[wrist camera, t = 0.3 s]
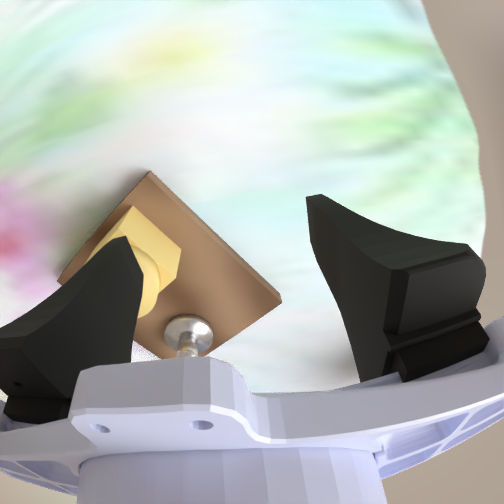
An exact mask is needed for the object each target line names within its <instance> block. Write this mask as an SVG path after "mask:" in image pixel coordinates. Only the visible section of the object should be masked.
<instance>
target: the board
mask: <svg viewBox="0 0 504 504" xmlns="http://www.w3.org/2000/svg"><path fill="white" fill-rule="evenodd" d="M132 206H134V207H135V208H136V209H137V210H139V211H140V212H141V213H142V214H143V215H144V216H145V217H146V218H147V219H148V220H149V221H151V222H152V223H153V224H154V225H155V226H156V227H157V228H158V229H159V230H160V231H162V232H163V233H164V234H165V235H166V236H167V237H168V238H169V239H170V240H172V241H173V242H174V243H175V244H176V245H177V246H178V247H179V248H180V249H181V254H180V259H179V265H178V270H177V275H176V279H174V280H173V281H172V282H171V283H170V284H169V285H167V286H166V287H165V288H164V289H163V290H162V291H161V292H159V293H158V296H157V300H156V303H155V306H154V307H153V309H152V310H151V311H150V312H149V313H148V314H146V315H145V316H143V317H140V318H137V323H136V327H135V332H134V337H133V340H134V341H135V342H137V343H138V344H140V345H141V346H143V347H144V348H146V349H147V350H149V351H150V352H152V353H153V354H155V355H156V356H158V357H159V358H161V359H169V358H177V351H175V350H173V349H172V348H170V347H169V346H168V344H167V343H166V341H165V338H164V334H165V328H166V324H167V322H168V321H169V320H170V319H171V318H172V317H174V316H176V315H179V314H184V313H190V314H196V315H199V316H201V317H203V318H205V319H206V320H207V321H208V322H209V323H210V324H211V326H212V329H213V342H212V345H211V346H210V347H209V348H208V349H207V350H206V351H204V352H202V353H199V354H198V357H204V356H205V355H207V354H208V353H210V352H211V351H213V350H214V349H216V348H217V347H219V346H220V345H222V344H223V343H225V342H226V341H228V340H229V339H231V338H232V337H234V336H235V335H237V334H238V333H240V332H241V331H242V330H244V329H245V328H247V327H248V326H250V325H251V324H253V323H254V322H256V321H257V320H258V319H260V318H261V317H263V316H264V315H266V314H267V313H268V312H270V311H271V310H273V309H274V308H275V307H277V306H278V305H280V304H281V303H282V300H281V296H280V293H279V292H278V291H276V290H275V289H274V288H273V287H272V286H271V285H270V284H269V283H268V282H267V281H266V280H265V279H264V278H263V277H262V276H261V275H259V274H258V273H257V272H256V271H255V270H254V269H253V268H252V267H251V266H250V265H249V264H248V263H247V262H246V261H245V260H244V259H243V258H241V257H240V256H239V255H238V254H237V253H236V252H235V251H234V250H233V249H232V248H231V247H230V246H229V245H228V244H227V243H226V242H225V241H223V240H222V239H221V238H220V237H219V236H218V235H217V234H216V233H215V232H214V231H213V230H212V229H211V228H210V227H209V226H208V225H207V224H206V223H205V222H204V221H202V220H201V219H200V218H199V217H198V216H197V215H196V214H195V213H194V212H193V211H192V210H191V209H190V208H189V207H188V206H187V205H186V204H185V203H184V202H183V201H182V200H181V199H179V198H178V197H177V196H176V195H175V194H174V193H173V192H172V191H171V190H170V189H169V188H168V187H167V186H166V185H165V184H164V183H163V182H162V181H161V180H160V179H159V178H158V177H157V176H156V175H154V174H153V173H152V172H151V171H150V172H149V173H148V174H147V175H146V176H145V177H144V178H143V179H142V180H141V181H140V182H139V183H138V184H137V186H136V187H135V188H134V189H133V190H132V191H131V192H130V193H129V194H128V195H127V196H126V197H125V198H124V200H123V201H122V202H121V203H120V204H119V205H118V206H117V207H116V208H115V210H114V211H113V212H112V213H111V214H110V215H109V216H108V218H107V219H106V220H105V221H104V222H103V223H102V224H101V226H100V227H99V228H98V229H97V230H96V232H95V233H94V234H93V235H92V236H91V238H90V239H89V240H88V241H87V242H86V244H85V245H84V246H83V247H82V249H81V250H80V251H79V252H78V254H77V255H76V256H75V257H74V259H73V260H72V261H71V262H70V264H69V265H68V266H67V268H66V269H65V270H64V271H63V273H62V274H61V276H60V277H59V279H58V280H57V282H58V283H60V284H61V285H64V284H65V283H66V282H67V281H68V280H69V279H70V278H71V277H72V276H73V275H74V274H75V273H76V272H77V271H78V270H79V269H81V268H82V267H83V266H84V264H85V263H86V261H87V260H88V258H89V256H90V255H91V253H92V252H93V250H94V249H95V247H96V246H97V245H98V244H99V242H100V241H101V240H102V239H103V238H104V237H105V236H106V234H107V233H108V232H109V231H110V230H111V229H112V228H113V227H114V225H115V224H116V223H117V222H118V221H119V220H120V219H121V218H122V217H123V216H124V214H125V213H126V212H127V211H128V210H129V209H130V208H131V207H132Z"/></svg>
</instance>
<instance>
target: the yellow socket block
mask: <svg viewBox="0 0 504 504" xmlns="http://www.w3.org/2000/svg"><path fill="white" fill-rule="evenodd" d="M122 236H126V237H127V239H128V241H129V243H130V246H131V248H132V250H133V252H134V255H135V257H136V259H137V261H138V263H139V265H140V268H141V270H142V272H143V274H144V280H143V293H142V299H141V304H140V309H139V314H138V318H140V317H143V316H145V315H146V314H148V313H149V312H150V311H151V310H152V309H153V307H154V306H155V303H156V300H157V296H158V293H159V292H161V291H162V290H163V289H164V288H165V287H166V286H167V285H169V284H170V283H171V282H172V281H173V280H174V279H176V275H177V270H178V265H179V259H180V254H181V249H180V248H179V247H178V246H177V245H176V244H175V243H174V242H173V241H172V240H170V239H169V238H168V237H167V236H166V235H165V234H164V233H163V232H162V231H160V230H159V229H158V228H157V227H156V226H155V225H154V224H153V223H152V222H151V221H149V220H148V219H147V218H146V217H145V216H144V215H143V214H142V213H141V212H140V211H139V210H137V209H136V208H135V207H134V206H132V207H131V208H130V209H129V210H128V211H127V212H126V213H125V214H124V216H123V217H122V218H121V219H120V220H119V221H118V222H117V223H116V224H115V225H114V227H113V228H112V229H111V230H110V231H109V232H108V233H107V234H106V236H105V237H104V238H103V239H102V240H101V241H100V242H99V244H98V245H97V246H96V247H95V249H94V250H93V252H92V253H91V255H90V256H89V258H88V260H87V261H86V263H87V262H88V261H89V260H90V259H91V258H92V257H93V256H94V255H95V254H96V253H97V252H98V251H99V250H100V249H101V248H102V247H103V246H104V245H105V244H107V243H108V242H109V241H110V240H112V239H114V238H118V237H122ZM86 263H85V264H86ZM85 264H84V265H85Z"/></svg>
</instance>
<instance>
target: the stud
mask: <svg viewBox="0 0 504 504" xmlns="http://www.w3.org/2000/svg"><path fill="white" fill-rule="evenodd" d="M164 338H165V341H166V343H167V344H168V346H169V347H170V348H172V349H173V350H175V351H177V357H185V356H198V354H199V353H202V352H204V351H206V350H207V349H208V348H209V347H210V346H211V345H212V342H213V329H212V326H211V324H210V323H209V322H208V321H207V320H206V319H205V318H203V317H201V316H199V315H196V314H190V313H184V314H179V315H176V316H174V317H172V318H171V319H170V320H169V321H168V322H167V324H166V328H165V334H164Z"/></svg>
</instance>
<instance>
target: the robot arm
mask: <svg viewBox="0 0 504 504" xmlns="http://www.w3.org/2000/svg"><path fill="white" fill-rule="evenodd" d="M306 204H307V213H308V223H309V233H310V242H311V245H312V248H313V251H314V254H315V257H316V260H317V263H318V265H319V267H320V269H321V271H322V273H323V275H324V277H325V279H326V281H327V284H328V286H329V288H330V290H331V292H332V294H333V296H334V298H335V300H336V302H337V305H338V307H339V310H340V312H341V315H342V318H343V321H344V325H345V328H346V331H347V334H348V337H349V341H350V344H351V348H352V351H353V355H354V359H355V362H356V366H357V370H358V374H359V378H360V382H361V383H358V384H354V385H350V386H347V387H343V388H339V389H335V390H331V391H315V392H291V393H251V392H250V391H249V390H248V388H247V385H246V383H245V380H244V378H243V376H242V375H241V374H240V373H239V372H238V371H237V370H236V369H235V368H234V367H233V366H232V365H231V364H229V363H226V362H223V361H220V360H217V359H214V358H211V357H198V356H185V357H177V358H169V359H161V360H152V361H143V362H134V363H131V351H132V343H133V337H134V332H135V327H136V323H137V318H138V314H139V309H140V304H141V299H142V293H143V280H144V274H143V272H142V270H141V268H140V265H139V263H138V261H137V259H136V257H135V255H134V252H133V250H132V248H131V246H130V243H129V241H128V239H127V237H126V236H122V237H118V238H114V239H112V240H110V241H109V242H108V243H107V244H105V245H104V246H103V247H102V248H101V249H100V250H99V251H98V252H97V253H96V254H95V255H94V256H93V257H92V258H91V259H90V260H89V261H88V262H87V263H86V264H85V265H84V266H83V267H82V268H81V269H79V270H78V271H77V272H76V273H75V274H74V275H73V276H72V277H71V278H70V279H69V280H68V281H67V282H66V283H65V284H64V285H62V286H61V287H60V288H59V289H58V290H57V291H55V292H54V293H53V294H52V295H51V296H49V297H48V298H47V299H45V300H44V301H43V302H41V303H40V304H38V305H37V306H36V307H34V308H33V309H32V310H30V311H29V312H27V313H25V314H24V315H22V316H21V317H19V318H17V319H16V320H14V321H12V322H11V323H9V324H7V325H5V326H3V327H1V328H0V389H1V390H2V391H3V392H4V393H5V394H6V395H7V396H8V399H7V402H4V401H2V400H0V471H2V472H3V473H5V474H7V475H9V476H10V477H13V478H16V479H19V480H22V481H25V482H28V483H32V484H35V485H39V486H42V487H45V488H48V489H52V490H55V491H59V492H62V493H66V494H70V495H73V496H77V504H387V501H386V497H385V493H384V489H383V486H382V483H381V480H382V479H384V478H387V477H389V476H392V475H394V474H397V473H399V472H401V471H404V470H406V469H409V468H411V467H413V466H416V465H418V464H420V463H422V462H424V461H426V460H429V459H431V458H433V457H435V456H437V455H439V454H441V453H443V452H444V451H446V450H448V449H450V448H452V447H454V446H456V445H458V444H460V443H461V442H463V441H465V440H467V439H469V438H470V437H472V436H474V435H476V434H477V433H479V432H481V431H483V430H484V429H486V428H488V427H489V426H491V425H493V424H494V423H496V422H497V421H499V420H500V419H503V418H504V316H502V317H500V318H498V319H496V320H494V321H492V322H490V323H489V324H488V325H486V327H485V328H484V329H483V327H482V326H481V324H480V323H479V320H480V319H481V314H480V313H479V312H478V310H477V309H476V305H477V303H478V300H479V297H480V295H481V292H482V289H483V286H484V282H485V278H486V267H485V265H484V263H483V261H482V260H481V259H480V257H479V256H478V255H477V254H476V253H475V252H474V251H473V250H472V249H471V248H470V247H469V245H468V244H463V243H454V242H445V241H438V240H433V239H427V238H423V237H418V236H414V235H410V234H407V233H403V232H400V231H397V230H394V229H391V228H388V227H386V226H383V225H380V224H378V223H376V222H373V221H371V220H369V219H367V218H365V217H363V216H361V215H359V214H357V213H355V212H353V211H351V210H349V209H347V208H346V207H344V206H342V205H340V204H339V203H337V202H335V201H333V200H332V199H330V198H328V197H326V196H324V195H322V194H318V195H313V196H308V197H306Z"/></svg>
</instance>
